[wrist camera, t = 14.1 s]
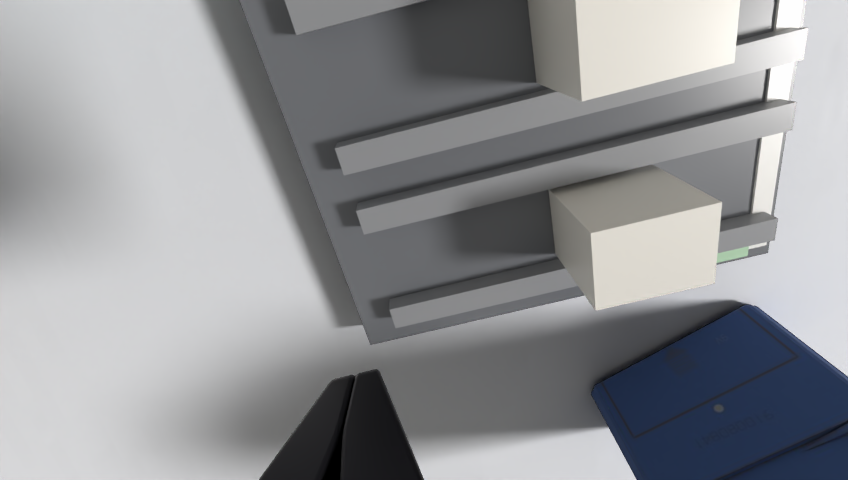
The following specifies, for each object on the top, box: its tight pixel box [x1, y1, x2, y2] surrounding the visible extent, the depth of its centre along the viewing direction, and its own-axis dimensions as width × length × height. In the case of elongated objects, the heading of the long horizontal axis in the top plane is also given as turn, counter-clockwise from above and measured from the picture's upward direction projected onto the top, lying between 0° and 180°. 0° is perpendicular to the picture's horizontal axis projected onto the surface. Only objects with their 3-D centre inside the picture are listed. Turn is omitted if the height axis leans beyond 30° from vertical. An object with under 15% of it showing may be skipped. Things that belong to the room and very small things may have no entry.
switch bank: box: [239, 0, 808, 345], centre depth 16 cm, size 18×15×2 cm
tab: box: [549, 164, 722, 311], centre depth 15 cm, size 4×3×4 cm
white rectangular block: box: [527, 0, 740, 101], centre depth 12 cm, size 4×3×4 cm
